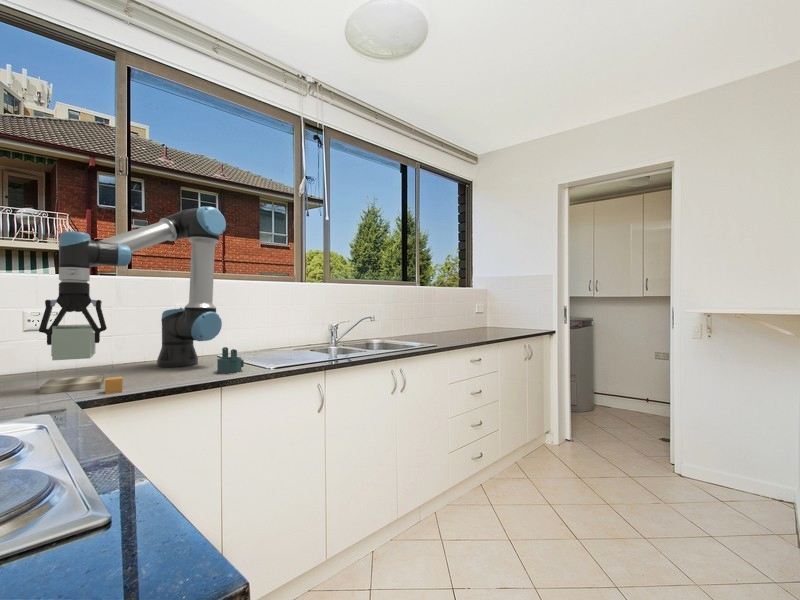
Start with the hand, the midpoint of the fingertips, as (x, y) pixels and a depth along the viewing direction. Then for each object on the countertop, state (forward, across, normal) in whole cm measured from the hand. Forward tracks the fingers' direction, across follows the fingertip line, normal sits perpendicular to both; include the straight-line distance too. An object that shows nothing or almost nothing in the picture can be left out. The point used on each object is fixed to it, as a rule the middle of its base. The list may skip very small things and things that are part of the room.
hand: (73, 354), depth 128 cm
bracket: (+10, +46, +4) cm, 47 cm away
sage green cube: (+1, 0, 0) cm, 1 cm away
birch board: (+10, 0, 0) cm, 10 cm away
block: (+10, +11, -14) cm, 21 cm away
